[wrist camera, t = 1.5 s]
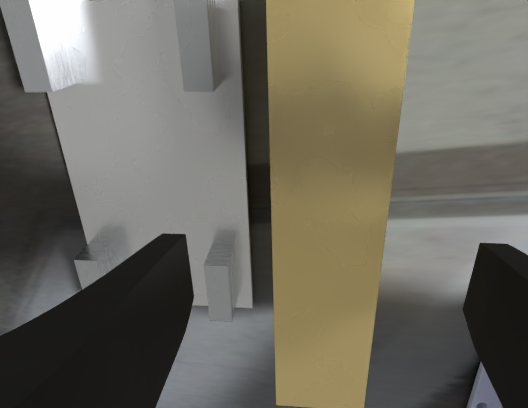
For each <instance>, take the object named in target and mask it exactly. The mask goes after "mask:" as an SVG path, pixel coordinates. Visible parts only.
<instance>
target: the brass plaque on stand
mask: <svg viewBox="0 0 528 408" xmlns="http://www.w3.org/2000/svg"><path fill="white" fill-rule="evenodd" d="M414 1H415V0H266V21H267V61H268V100H269V140H270V180H271V220H272V259H273V299H274V339H275V378H276V405H282V406H296V407H310V408H364V403H365V395H366V387H367V379H368V371H369V363H370V355H371V347H372V339H373V331H374V323H375V315H376V307H377V299H378V290H379V282H380V274H381V266H382V258H383V250H384V242H385V234H386V226H387V218H388V210H389V202H390V194H391V186H392V178H393V170H394V162H395V154H396V146H397V138H398V130H399V122H400V114H401V106H402V98H403V90H404V81H405V73H406V65H407V57H408V49H409V41H410V33H411V25H412V17H413V9H414Z"/></svg>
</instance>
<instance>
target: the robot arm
mask: <svg viewBox="0 0 528 408" xmlns="http://www.w3.org/2000/svg"><path fill="white" fill-rule="evenodd" d="M193 300H194V292H193V284H192V277H191V269H190V262H189V254H188V247H187V239H186V234H166V233H163V234H161V235H160V236H158V237H156V238H155V239H153V240H152V241H151V242H149V243H148V244H147V245H145V246H144V247H142V248H141V249H140V250H138V251H137V252H136V253H134V254H133V255H132V256H130V257H129V258H127V259H126V260H125V261H123V262H122V263H121V264H119V265H118V266H116V267H115V268H114V269H112V270H111V271H109V272H108V273H107V274H105V275H104V276H102V277H101V278H99V279H98V280H96V281H95V282H93V283H92V284H90V285H89V286H87V287H86V288H84V289H83V290H81V291H80V292H78V293H76V294H75V295H73V296H72V297H70V298H69V299H67V300H66V301H64V302H62V303H61V304H59V305H57V306H56V307H54V308H52V309H51V310H49V311H47V312H45V313H43V314H42V315H40V316H38V317H36V318H34V319H33V320H31V321H29V322H27V323H25V324H23V325H21V326H20V327H18V328H16V329H14V330H12V331H10V332H8V333H5V334H3V335H1V336H0V408H155V407H156V405H157V402H158V400H159V397H160V395H161V392H162V390H163V387H164V385H165V382H166V380H167V377H168V375H169V372H170V370H171V367H172V365H173V362H174V360H175V357H176V355H177V352H178V350H179V347H180V344H181V342H182V339H183V337H184V334H185V331H186V328H187V324H188V320H189V316H190V312H191V308H192V304H193ZM463 312H464V315H465V318H466V322H467V325H468V329H469V332H470V335H471V338H472V341H473V344H474V347H475V349H476V351H477V354H478V356H479V358H480V360H481V362H480V366H479V369H478V372H477V375H476V379H475V382H474V385H473V388H472V392H471V395H470V398H469V401H468V405H467V408H528V255H526V254H525V253H523V252H521V251H520V250H518V249H516V248H514V247H512V246H510V245H508V244H495V243H480V245H479V249H478V252H477V256H476V260H475V264H474V268H473V272H472V275H471V279H470V283H469V287H468V291H467V295H466V299H465V302H464V306H463Z"/></svg>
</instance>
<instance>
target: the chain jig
mask: <svg viewBox="0 0 528 408" xmlns="http://www.w3.org/2000/svg"><path fill="white" fill-rule="evenodd" d="M0 7H1V10H2V14H3V17H4V21H5V24H6V28H7V31H8V35H9V38H10V41H11V45H12V48H13V52H14V55H15V59H16V62H17V66H18V69H19V73H20V76H21V79H22V83H23V86H24V90H25V92H47V94H48V98H49V101H50V105H51V109H52V113H53V116H54V120H55V124H56V128H57V132H58V135H59V139H60V143H61V147H62V150H63V154H64V158H65V162H66V166H67V169H68V173H69V177H70V181H71V184H72V188H73V192H74V196H75V199H76V203H77V207H78V211H79V215H80V218H81V222H82V226H83V230H84V233H85V237H86V241H87V246H86V247H85V248H84V249H83V250H82V251H81V252H80V254H79V255H78V256H77V257H76V258H75V259H74V263H75V266H76V270H77V273H78V276H79V280H80V283H81V287H82V290H83V289H84V288H86V287H87V286H89V285H90V284H92V283H93V282H95V281H96V280H98V279H99V278H101V277H102V276H104V275H105V274H107V273H108V272H109V271H111V270H112V269H114V268H115V267H116V266H118V265H119V264H121V263H122V262H123V261H125V260H126V259H127V258H129V257H130V256H132V255H133V254H134V253H136V252H137V251H138V250H140V249H141V248H142V247H144V246H145V245H147V244H148V243H149V242H151V241H152V240H153V239H155V238H156V237H158V236H160V235H161V234H163V233H166V234H186V239H187V247H188V254H189V262H190V269H191V277H192V284H193V292H194V300H193V304H192V305H197V306H208V309H209V318H210V321H221V322H232V320H233V316H234V312H235V308H236V307H237V308H253V303H254V300H253V278H252V257H251V236H250V215H249V193H248V172H247V151H246V129H245V108H244V87H243V65H242V44H241V23H240V1H239V0H0Z"/></svg>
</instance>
